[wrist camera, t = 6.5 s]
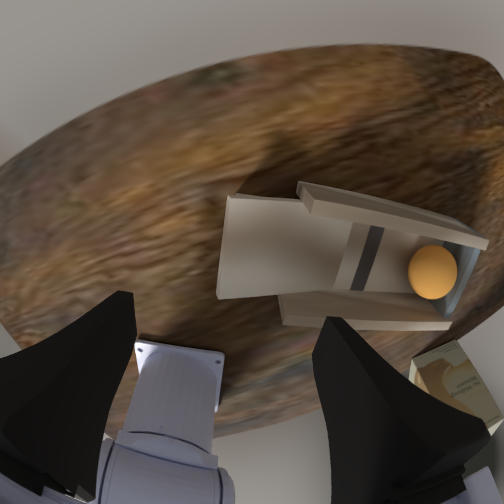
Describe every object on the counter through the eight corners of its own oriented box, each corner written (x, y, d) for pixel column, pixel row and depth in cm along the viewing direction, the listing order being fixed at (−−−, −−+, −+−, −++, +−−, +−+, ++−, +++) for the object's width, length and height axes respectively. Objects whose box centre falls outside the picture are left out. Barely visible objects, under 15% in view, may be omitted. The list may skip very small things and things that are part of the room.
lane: (423, 299, 22) (447, 329, 18) (218, 279, 21) (212, 317, 17) (455, 218, 19) (489, 240, 15) (232, 170, 18) (228, 185, 13)
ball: (395, 277, 21) (434, 286, 20) (407, 304, 17) (450, 313, 17) (412, 231, 19) (452, 243, 19) (429, 252, 16) (473, 265, 15)
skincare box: (455, 336, 25) (508, 416, 14) (450, 360, 27) (493, 435, 16) (408, 358, 26) (454, 450, 15) (405, 381, 28) (443, 465, 17)
